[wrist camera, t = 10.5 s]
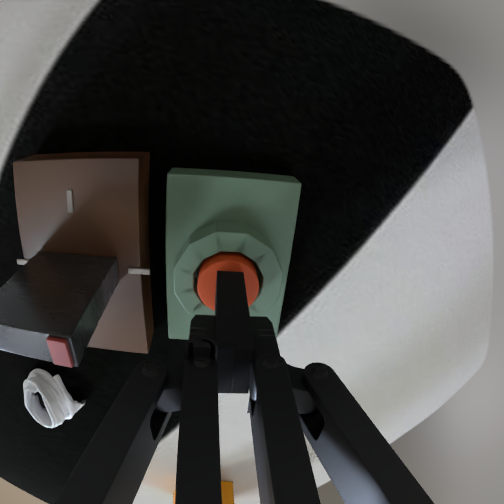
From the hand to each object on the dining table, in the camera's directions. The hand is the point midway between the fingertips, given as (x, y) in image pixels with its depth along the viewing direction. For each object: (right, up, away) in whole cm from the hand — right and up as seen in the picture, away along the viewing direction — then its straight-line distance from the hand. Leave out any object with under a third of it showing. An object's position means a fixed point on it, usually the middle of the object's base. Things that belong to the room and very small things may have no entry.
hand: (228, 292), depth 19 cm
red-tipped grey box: (-10, +1, 0) cm, 10 cm away
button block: (0, +2, +4) cm, 5 cm away
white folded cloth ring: (-20, -12, +9) cm, 25 cm away
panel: (-10, +3, +3) cm, 11 cm away
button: (0, +1, +2) cm, 2 cm away
